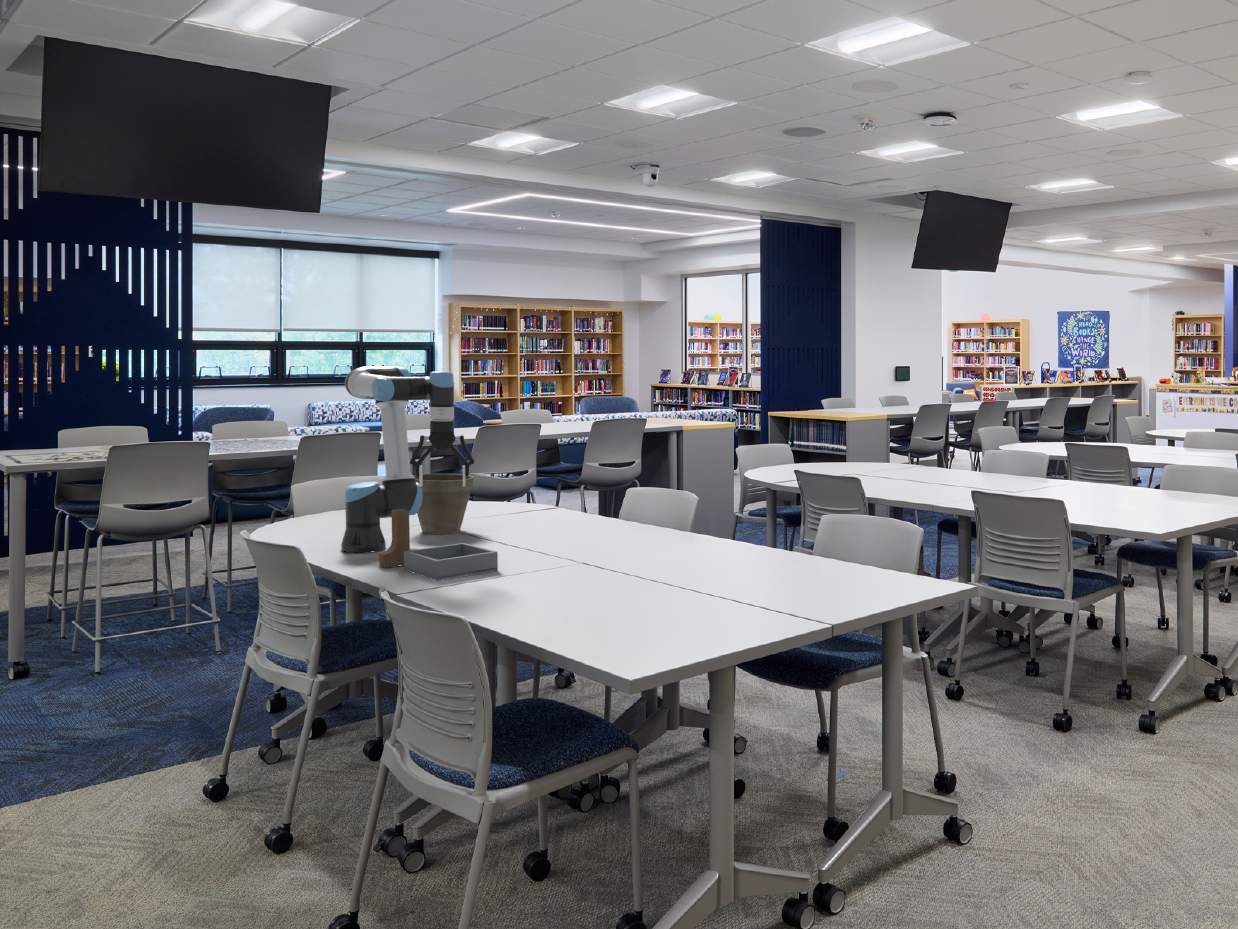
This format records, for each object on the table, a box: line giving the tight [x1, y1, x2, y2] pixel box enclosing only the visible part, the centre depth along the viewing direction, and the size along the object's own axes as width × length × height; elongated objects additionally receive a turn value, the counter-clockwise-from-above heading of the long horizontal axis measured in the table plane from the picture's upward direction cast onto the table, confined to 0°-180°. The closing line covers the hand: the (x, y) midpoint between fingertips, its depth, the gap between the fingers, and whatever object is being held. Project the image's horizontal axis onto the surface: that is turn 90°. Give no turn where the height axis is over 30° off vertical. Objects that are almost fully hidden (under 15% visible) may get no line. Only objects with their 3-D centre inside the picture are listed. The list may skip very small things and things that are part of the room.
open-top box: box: [403, 542, 499, 581], centre depth 302 cm, size 20×22×6 cm
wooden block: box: [378, 509, 411, 569], centre depth 308 cm, size 9×4×18 cm, turn 125°
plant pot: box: [412, 473, 474, 535], centre depth 372 cm, size 25×25×22 cm
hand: (442, 486), depth 307 cm, fingers open, 13 cm apart
